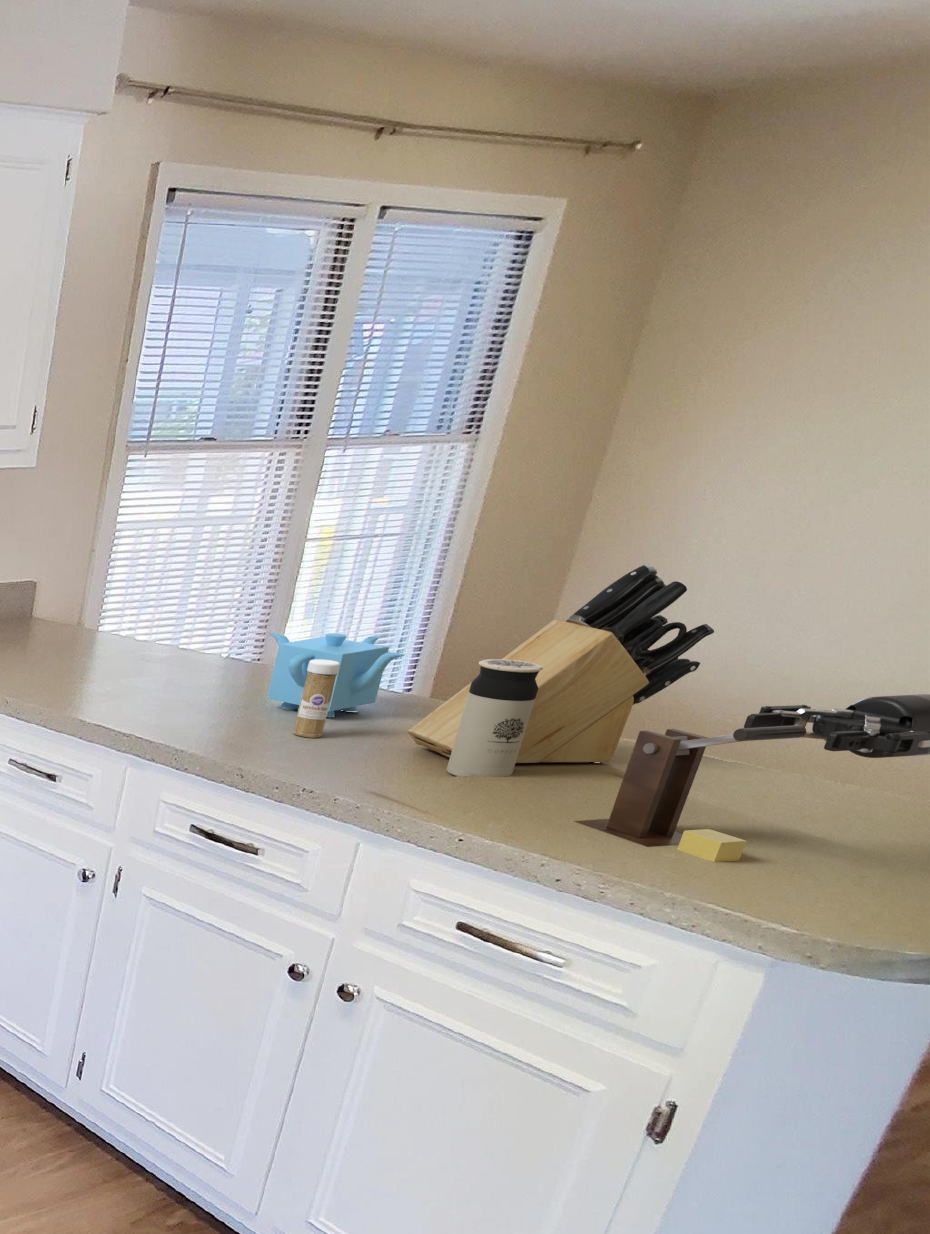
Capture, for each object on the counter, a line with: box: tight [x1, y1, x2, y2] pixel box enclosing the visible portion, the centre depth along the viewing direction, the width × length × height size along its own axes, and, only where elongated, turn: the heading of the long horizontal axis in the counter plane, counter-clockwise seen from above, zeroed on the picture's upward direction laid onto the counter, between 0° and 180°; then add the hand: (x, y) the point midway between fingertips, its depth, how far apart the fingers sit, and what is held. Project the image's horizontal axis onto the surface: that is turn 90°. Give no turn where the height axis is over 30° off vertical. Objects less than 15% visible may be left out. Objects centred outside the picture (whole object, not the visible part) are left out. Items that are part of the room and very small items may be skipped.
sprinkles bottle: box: [292, 659, 340, 739], centre depth 197 cm, size 5×5×14 cm
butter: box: [677, 828, 748, 863], centre depth 141 cm, size 7×7×4 cm
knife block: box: [407, 563, 715, 764], centre depth 180 cm, size 11×35×31 cm, turn 88°
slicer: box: [573, 728, 709, 848], centre depth 147 cm, size 10×9×15 cm
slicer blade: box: [674, 725, 807, 756], centre depth 140 cm, size 13×8×2 cm, turn 6°
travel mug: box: [446, 658, 542, 778], centre depth 173 cm, size 8×8×18 cm
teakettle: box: [266, 632, 406, 717], centre depth 213 cm, size 19×19×15 cm
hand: (788, 732), depth 135 cm, fingers open, 8 cm apart
